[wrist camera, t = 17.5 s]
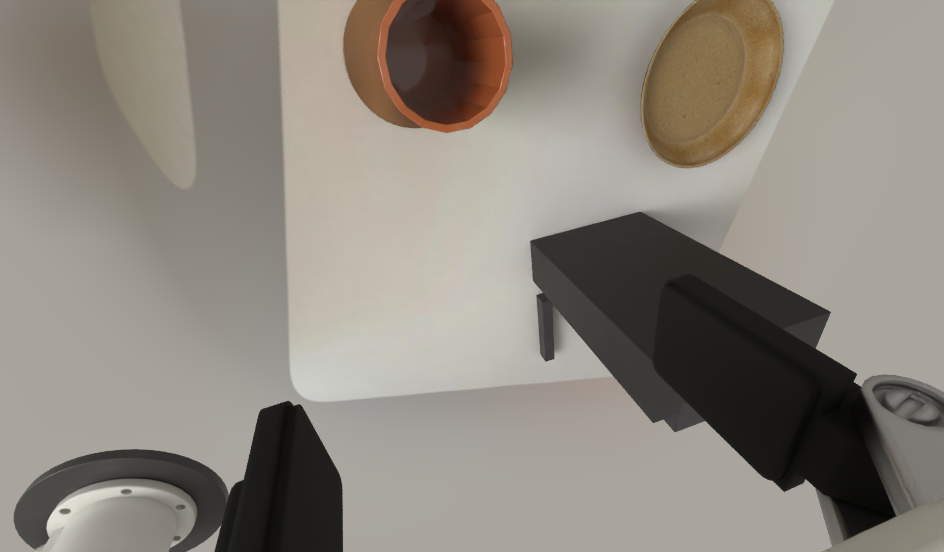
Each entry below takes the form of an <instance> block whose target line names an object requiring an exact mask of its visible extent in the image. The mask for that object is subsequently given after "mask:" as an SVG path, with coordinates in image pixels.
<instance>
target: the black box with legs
mask: <svg viewBox="0 0 944 552" xmlns="http://www.w3.org/2000/svg"><path fill="white" fill-rule="evenodd" d="M530 242H531V257H532V271H533V281H534V283H535V284H536V285H537V286H538V287H539V288H540V290H541V291H542V292H543V294H540V295H537V307H538V322H539V337H540V353H541V355H542V357H543V358H544V360H545V361H549V360H552V359H554V337H553V313H552V304H553V305H554V306H555V307H556V309H557V310H558V311H559V312H560V313H561V315H562V316H563V317H564V318H565V319H566V320H567V322H568V323H569V324H570V325H571V326H572V328H573V329H574V330H575V331H576V332H577V333H578V335H579V336H580V337H581V338H582V339H583V341H584V342H585V343H586V344H587V345H588V347H589V348H590V349H591V350H592V351H593V352H594V354H595V355H596V356H597V357H598V358H599V360H600V361H601V362H602V363H603V364H604V365H605V367H606V368H607V369H608V370H609V371H610V373H611V374H612V375H613V376H614V377H615V378H616V379H617V381H618V382H619V383H620V384H621V386H622V387H623V388H624V389H625V390H626V391H627V393H628V394H629V395H630V396H631V397H632V399H633V400H634V401H635V402H636V403H637V404H638V406H639V407H640V408H641V409H642V410H643V412H644V413H645V414H646V415H647V416H648V418H649V419H650V420H651V421H652V422H653V423H655V422H658V421H660V420H663V419H664V420H665V422H666V423H667V424H668V425H669V426H670V427H671V428H672V430H673V431H674V432H677V431H680V430H683V429H685V428H688V427H690V426H693V425H696V424H698V423H701V422H704V421H705V420H704V419H703V418H702V417H701V416H700V415H699V414H698V413H697V412H696V411H695V410H694V409H693V408H692V407H691V406H690V405H689V404H688V403H687V402H686V401H685V400H684V399H683V398H682V397H681V396H680V395H679V394H678V393H676V392H675V391H674V390H673V389H672V388H671V387H670V386H669V385H668V384H667V383H666V382H665V381H664V380H663V379H662V378H661V377H660V376H659V375H658V374H657V372H656V371H655V369H654V367H653V352H654V344H655V335H656V327H657V318H658V310H659V301H660V293H661V289H662V288H663V287H664V285H665V283H666V281H668V280H670V279H673V278H676V277H679V276H682V275H686V274H692V275H694V276H696V277H697V278H699V279H701V280H702V281H704V282H706V283H707V284H709V285H711V286H712V287H714V288H716V289H717V290H719V291H721V292H722V293H724V294H726V295H727V296H729V297H731V298H732V299H734V300H736V301H737V302H739V303H740V304H742V305H744V306H745V307H747V308H749V309H750V310H752V311H754V312H755V313H757V314H759V315H760V316H762V317H764V318H765V319H767V320H769V321H770V322H772V323H774V324H775V325H777V326H779V327H780V328H782V329H784V330H785V331H787V332H789V333H790V334H792V335H794V336H795V337H797V338H798V339H800V340H802V341H803V342H805V343H807V344H808V345H810V346H812V347H813V348H815V349H816V346H817V344H818V341H819V339H820V337H821V334H822V332H823V330H824V327H825V325H826V322H827V320H828V318H829V315H830V313H831V312H829V311H828V310H826V309H824V308H822V307H820V306H818V305H817V304H815V303H813V302H811V301H809V300H807V299H805V298H803V297H801V296H800V295H798V294H796V293H794V292H792V291H790V290H788V289H786V288H784V287H782V286H780V285H779V284H777V283H775V282H773V281H771V280H769V279H767V278H765V277H763V276H761V275H759V274H757V273H756V272H754V271H752V270H750V269H748V268H746V267H744V266H742V265H740V264H739V263H737V262H735V261H733V260H731V259H729V258H727V257H725V256H723V255H721V254H720V253H718V252H716V251H714V250H712V249H710V248H708V247H706V246H704V245H703V244H701V243H699V242H697V241H695V240H693V239H691V238H689V237H687V236H685V235H684V234H682V233H680V232H678V231H676V230H674V229H672V228H670V227H668V226H666V225H664V224H663V223H661V222H659V221H657V220H655V219H653V218H651V217H649V216H647V215H645V214H644V213H642V212H638V213H634V214H630V215H627V216H623V217H619V218H615V219H611V220H608V221H604V222H600V223H596V224H593V225H589V226H585V227H581V228H577V229H574V230H570V231H566V232H562V233H559V234H555V235H551V236H547V237H544V238H540V239H536V240H532V241H530Z"/></svg>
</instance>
